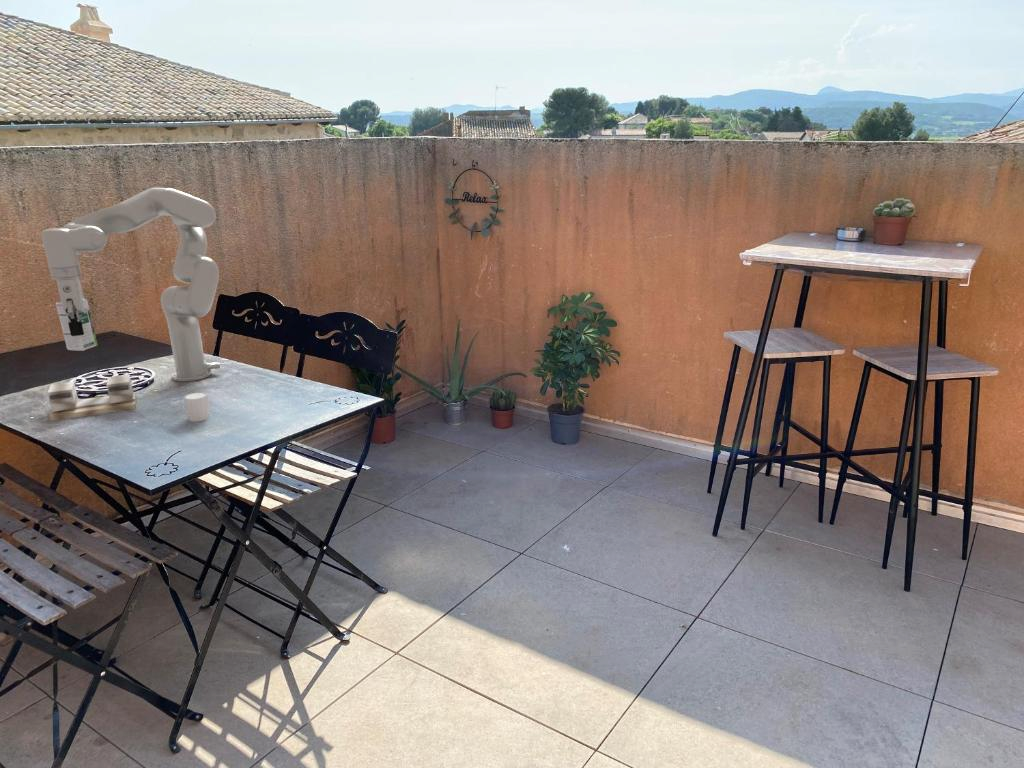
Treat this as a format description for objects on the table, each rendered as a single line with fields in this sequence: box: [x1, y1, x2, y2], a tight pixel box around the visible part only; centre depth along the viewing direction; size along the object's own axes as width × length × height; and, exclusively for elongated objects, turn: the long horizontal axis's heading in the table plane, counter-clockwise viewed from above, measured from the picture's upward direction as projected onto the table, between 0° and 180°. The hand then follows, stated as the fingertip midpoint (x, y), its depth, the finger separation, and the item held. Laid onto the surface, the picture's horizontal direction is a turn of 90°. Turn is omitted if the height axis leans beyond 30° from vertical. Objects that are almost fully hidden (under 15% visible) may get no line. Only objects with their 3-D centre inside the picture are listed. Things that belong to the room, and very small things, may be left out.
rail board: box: [47, 374, 137, 422], centre depth 207 cm, size 22×12×8 cm, turn 116°
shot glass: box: [182, 391, 211, 422], centre depth 199 cm, size 7×7×7 cm
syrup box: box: [55, 298, 99, 352], centre depth 199 cm, size 6×6×14 cm
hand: (79, 331), depth 200 cm, fingers closed on syrup box, 7 cm apart
